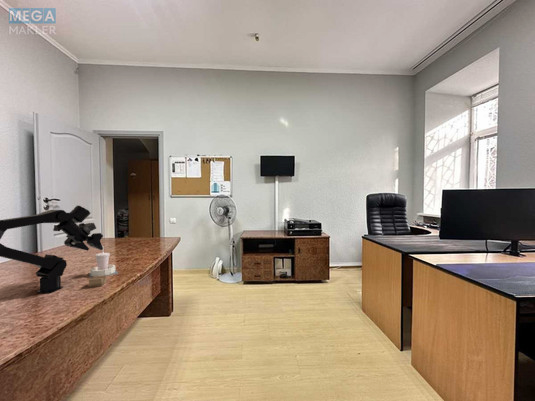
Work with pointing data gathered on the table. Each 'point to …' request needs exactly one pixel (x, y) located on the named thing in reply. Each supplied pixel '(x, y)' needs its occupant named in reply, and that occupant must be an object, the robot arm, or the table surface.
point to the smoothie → (102, 260)
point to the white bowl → (102, 271)
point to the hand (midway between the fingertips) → (95, 249)
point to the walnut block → (97, 281)
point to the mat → (106, 275)
